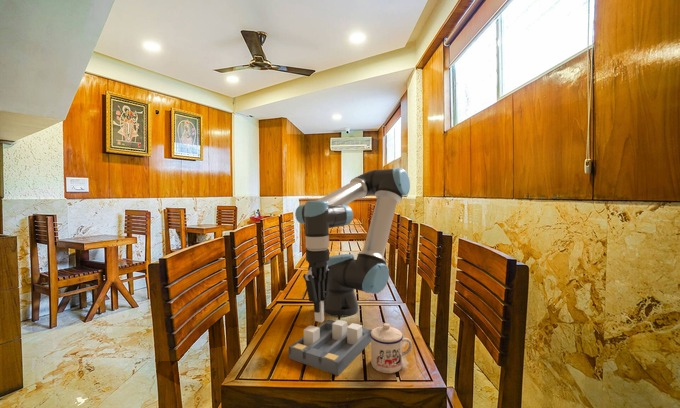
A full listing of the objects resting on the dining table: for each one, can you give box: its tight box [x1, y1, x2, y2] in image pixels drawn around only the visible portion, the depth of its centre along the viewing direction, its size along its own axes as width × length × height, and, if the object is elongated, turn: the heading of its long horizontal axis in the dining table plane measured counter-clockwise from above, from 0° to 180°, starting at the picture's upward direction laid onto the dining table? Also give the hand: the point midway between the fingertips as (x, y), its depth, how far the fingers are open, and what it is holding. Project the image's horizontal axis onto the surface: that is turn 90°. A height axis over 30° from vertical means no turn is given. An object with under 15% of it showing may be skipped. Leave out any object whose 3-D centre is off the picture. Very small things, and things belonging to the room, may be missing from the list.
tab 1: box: [303, 325, 320, 347], centre depth 91 cm, size 4×4×5 cm
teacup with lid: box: [370, 322, 413, 374], centre depth 83 cm, size 12×9×12 cm
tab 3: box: [347, 322, 363, 345], centre depth 93 cm, size 4×4×5 cm
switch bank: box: [288, 319, 373, 376], centre depth 92 cm, size 22×17×4 cm
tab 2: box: [332, 319, 348, 340], centre depth 95 cm, size 4×4×5 cm
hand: (319, 320), depth 95 cm, fingers closed
